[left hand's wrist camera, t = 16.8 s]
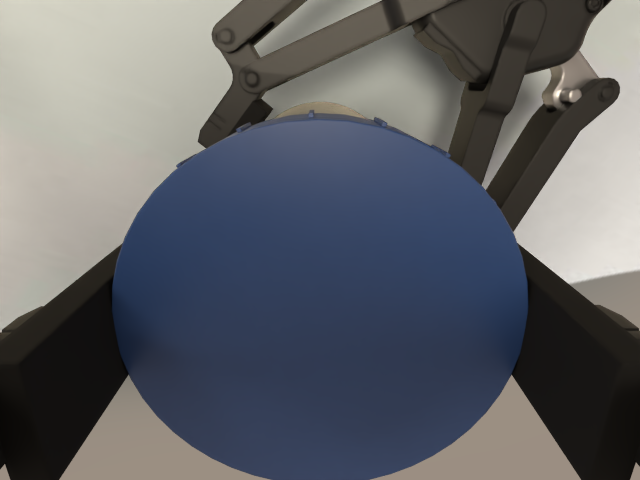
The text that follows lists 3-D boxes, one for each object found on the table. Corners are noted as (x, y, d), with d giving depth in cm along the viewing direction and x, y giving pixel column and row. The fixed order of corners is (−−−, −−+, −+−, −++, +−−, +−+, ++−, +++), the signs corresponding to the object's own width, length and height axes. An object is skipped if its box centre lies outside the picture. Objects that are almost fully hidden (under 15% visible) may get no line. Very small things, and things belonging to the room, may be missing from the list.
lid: (145, 418, 13) (119, 469, 12) (136, 87, 10) (97, 87, 8) (452, 446, 14) (473, 500, 12) (543, 138, 10) (590, 148, 9)
